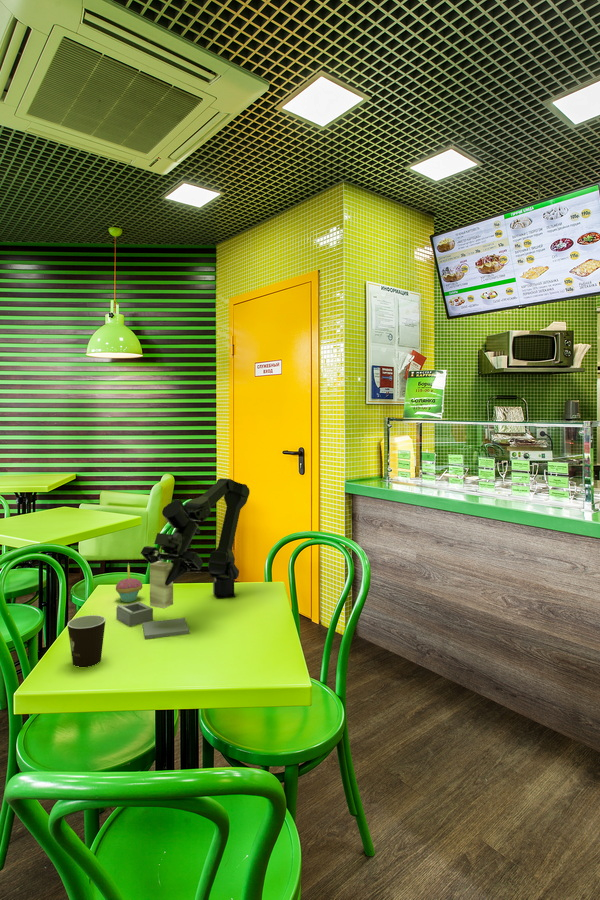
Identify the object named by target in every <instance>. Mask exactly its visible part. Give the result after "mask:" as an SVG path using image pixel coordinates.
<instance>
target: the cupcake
mask: <svg viewBox="0 0 600 900" xmlns="http://www.w3.org/2000/svg"><path fill="white" fill-rule="evenodd" d="M130 566H131V565H130V563H129V562H128V563H127V578H124V579H121V580H119V581H118V582H117V583H116V585H115V591H116V592H117V594H118V596H119V597H120V600H121V602H123V603H131V601H132V602H135V601H136V600H137V598H138V594H139V592H140V591H141V590H142V589H143V582H142V581H141V580H139V579H137V578H134V577H131V570H130V569H131V568H130Z"/></svg>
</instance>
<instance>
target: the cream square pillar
mask: <svg viewBox="0 0 600 900" xmlns="http://www.w3.org/2000/svg"><path fill="white" fill-rule="evenodd" d="M172 567H173V562H169V561H164V560H163V561H157V562H155V563H149V607H151V608H159V609H166V608H168V607H171V606H173V605H174V581H173V582H172V583H170V584H169V585H168V586H167V585H165V582H166V579H167V577H168V575H169V573H170V571H171V569H172Z"/></svg>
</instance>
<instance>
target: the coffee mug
mask: <svg viewBox="0 0 600 900" xmlns="http://www.w3.org/2000/svg"><path fill="white" fill-rule="evenodd" d="M105 628H106V617H105V616H102V615H97V614H96V615H94V614H93V615H92V614H90V615H83V616H82V615H81V616H78V617H75V618H73V619H71V620H69V621H67V631H68V639H69V645H70V653H71V660H72V666H74V665H75V666H79V667H86V668H89V667H88V666H91V667H93V666H92V665H94V666H96V665H98V664H99V663H100V662H101V661H102V654H103V646H104V637H105V636H104V635H105ZM98 662H99V663H98ZM97 663H98V664H97ZM95 664H96V665H95ZM75 666H74V667H75Z"/></svg>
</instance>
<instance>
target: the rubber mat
mask: <svg viewBox="0 0 600 900" xmlns="http://www.w3.org/2000/svg"><path fill="white" fill-rule="evenodd" d="M142 629H143V636H144V637H143V638H144V640H148V639H149V640H150V639H156V638H158V637H159V638H166V637H172V636H173V637H175V636H181V635H189V634H190V628H189V625H188V623H187V620H186V617H179V618H170V619H163V620H162V619H161V620H155V621H154V620H152V621H148V622H143V623H142Z"/></svg>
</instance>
